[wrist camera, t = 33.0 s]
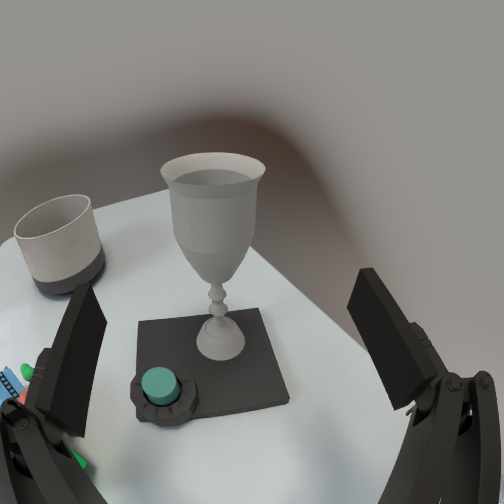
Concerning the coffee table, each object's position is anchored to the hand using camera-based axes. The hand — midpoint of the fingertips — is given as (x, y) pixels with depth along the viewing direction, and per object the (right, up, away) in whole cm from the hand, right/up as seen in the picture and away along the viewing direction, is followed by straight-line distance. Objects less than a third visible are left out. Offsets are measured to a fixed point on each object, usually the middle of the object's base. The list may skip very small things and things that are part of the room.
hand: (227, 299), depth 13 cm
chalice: (-2, -7, +15) cm, 17 cm away
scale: (-4, -9, +14) cm, 17 cm away
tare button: (-7, -10, +8) cm, 14 cm away
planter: (-27, -1, +24) cm, 36 cm away
